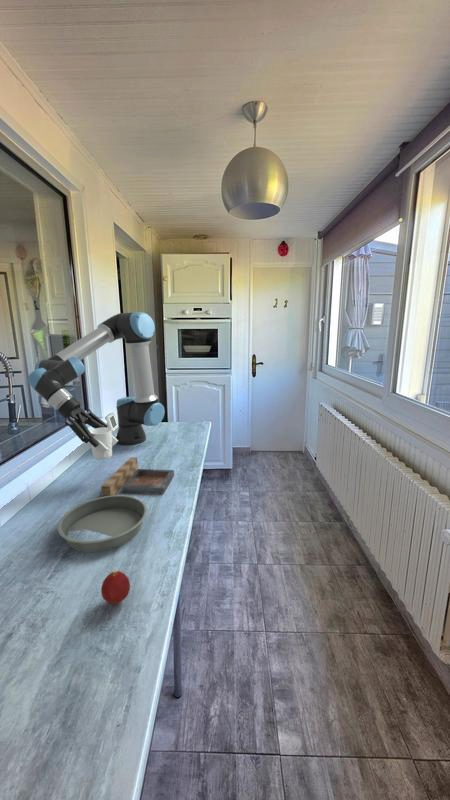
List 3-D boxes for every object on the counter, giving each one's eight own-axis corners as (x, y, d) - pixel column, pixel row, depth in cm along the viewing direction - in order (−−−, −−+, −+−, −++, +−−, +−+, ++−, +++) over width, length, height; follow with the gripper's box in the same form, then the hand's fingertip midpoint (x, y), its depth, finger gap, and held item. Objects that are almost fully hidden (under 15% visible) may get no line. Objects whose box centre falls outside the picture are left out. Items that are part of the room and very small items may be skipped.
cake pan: (63, 516, 106) (61, 503, 105) (142, 501, 115) (141, 489, 114) (54, 567, 84) (52, 551, 83) (153, 543, 92) (152, 529, 91)
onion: (107, 592, 75) (103, 561, 73) (133, 590, 75) (130, 559, 74) (99, 614, 69) (95, 581, 68) (128, 612, 70) (125, 579, 68)
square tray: (137, 474, 135) (137, 469, 135) (174, 475, 133) (174, 470, 133) (123, 492, 120) (122, 486, 120) (163, 494, 119) (163, 487, 118)
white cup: (117, 452, 129) (115, 427, 127) (107, 460, 121) (105, 434, 119) (97, 451, 130) (95, 427, 127) (87, 459, 122) (84, 433, 120)
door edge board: (131, 468, 141) (130, 457, 140) (138, 468, 141) (137, 457, 140) (102, 499, 116) (101, 486, 115) (111, 500, 115) (109, 486, 114)
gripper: (75, 404, 133) (116, 444, 135) (40, 418, 114) (90, 465, 115) (86, 391, 132) (128, 432, 133) (53, 403, 112) (103, 451, 113)
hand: (110, 447), depth 124 cm, fingers closed on white cup, 8 cm apart
